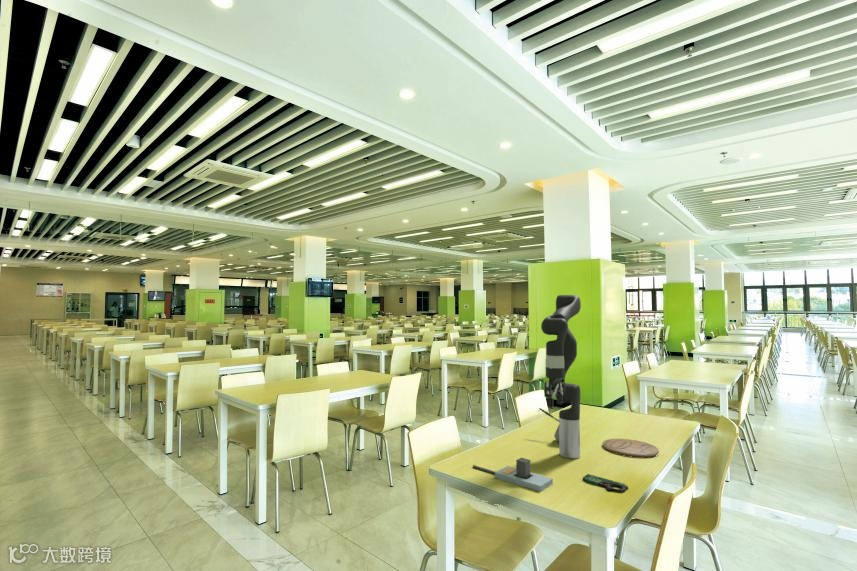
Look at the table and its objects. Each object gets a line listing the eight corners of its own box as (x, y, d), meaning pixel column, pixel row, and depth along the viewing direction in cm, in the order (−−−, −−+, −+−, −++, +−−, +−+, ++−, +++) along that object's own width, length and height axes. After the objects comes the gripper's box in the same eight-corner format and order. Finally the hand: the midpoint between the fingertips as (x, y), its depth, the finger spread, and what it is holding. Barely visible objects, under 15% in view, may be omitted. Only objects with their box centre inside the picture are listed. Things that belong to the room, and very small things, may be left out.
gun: (577, 479, 166) (588, 473, 174) (578, 483, 166) (588, 476, 174) (621, 492, 155) (630, 484, 163) (621, 496, 155) (630, 488, 163)
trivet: (664, 449, 210) (663, 445, 210) (651, 462, 191) (651, 458, 191) (611, 439, 226) (611, 435, 227) (595, 450, 207) (595, 446, 208)
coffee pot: (581, 442, 219) (581, 412, 220) (571, 447, 211) (571, 416, 212) (543, 433, 234) (543, 406, 235) (533, 438, 226) (533, 409, 227)
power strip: (482, 463, 187) (482, 458, 187) (552, 483, 165) (552, 478, 165) (468, 469, 179) (468, 463, 179) (540, 491, 157) (540, 485, 157)
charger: (521, 477, 170) (521, 457, 171) (530, 480, 168) (530, 459, 168) (516, 480, 167) (516, 460, 168) (525, 483, 165) (525, 462, 165)
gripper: (553, 364, 184) (554, 401, 183) (538, 366, 174) (538, 407, 172) (570, 365, 179) (570, 404, 178) (555, 368, 169) (556, 410, 167)
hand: (555, 405), depth 175 cm, fingers open, 8 cm apart
